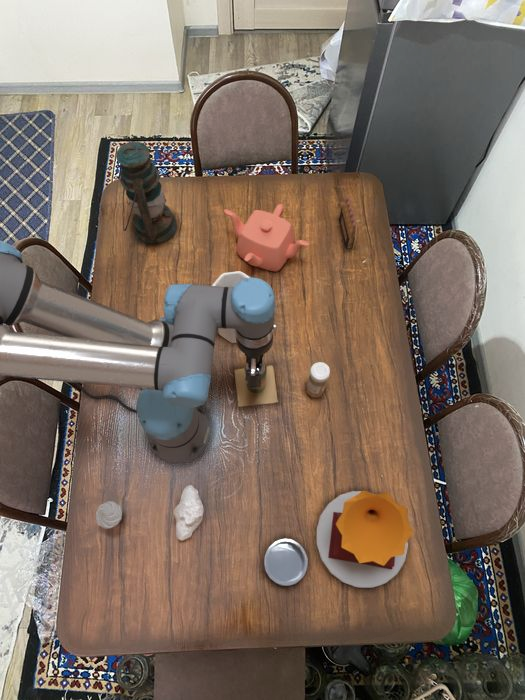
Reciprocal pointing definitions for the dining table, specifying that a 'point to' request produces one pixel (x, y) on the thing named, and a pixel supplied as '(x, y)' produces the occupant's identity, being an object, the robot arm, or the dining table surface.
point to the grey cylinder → (285, 562)
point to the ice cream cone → (108, 514)
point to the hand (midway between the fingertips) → (255, 373)
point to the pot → (265, 238)
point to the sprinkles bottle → (317, 379)
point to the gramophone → (363, 538)
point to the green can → (263, 378)
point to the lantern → (145, 195)
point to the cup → (227, 281)
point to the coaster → (252, 398)
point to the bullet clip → (348, 223)
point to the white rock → (188, 513)
